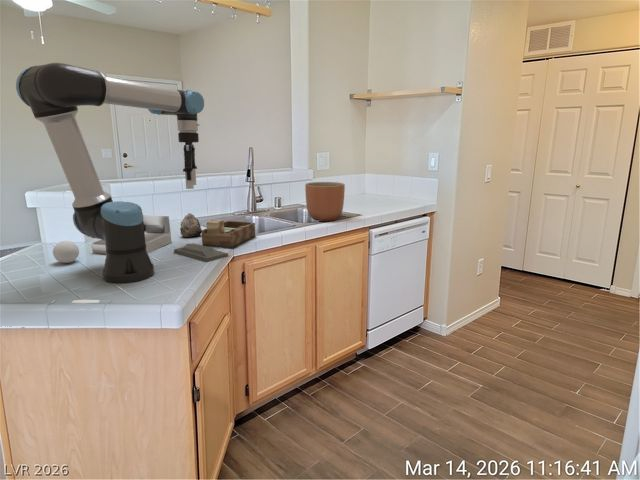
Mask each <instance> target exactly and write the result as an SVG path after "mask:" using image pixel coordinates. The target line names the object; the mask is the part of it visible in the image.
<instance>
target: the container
mask: <svg viewBox="0 0 640 480" xmlns="http://www.w3.org/2000/svg"><path fill="white" fill-rule="evenodd" d="M143 217H144V219H143V222H144V232H145V242H146V251H147V253H148V254H149V253H151V252H153V251H156V250H158V249H160V248H162V247H164V246H166V245H169V244H171V243H172V233H171V232H172V231H171V226H170V225H171V224H170V216H168V215H152V214H151V215H149V214H143ZM91 250H92V255H93V254H94V255H104V256H106V255H107V253H106V246H105V240H101V239H99V240H97V241H95V242H92V243H91Z"/></svg>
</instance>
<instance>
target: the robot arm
mask: <svg viewBox="0 0 640 480" xmlns="http://www.w3.org/2000/svg"><path fill="white" fill-rule="evenodd" d="M15 81H16V82H15V89H16V93H17V96H18V97H19V98H20V100H21V101H22V102H23V103H24V104H25V105H26V106H28V107H30V111H31V112H32V115H33V116H34V118H35V119H36V120H37V121H39V122H41V123H42V124H43V125H44V128H45V130H46V133H47V135H48V137H49V139H50V142H51V145H52V146H53V149H54V152H55V153H56V154H55V155H56V156H57V159H58V161H59V163H60V166H61V168H62V171H63V173H64V175H65V177H66V178H65V179H66V180H67V183H68V185H69V187H70V190H71V192H72V195H73V197H74V200H73V202H72V204H71V206H72V208H73V211H74V212H73V214H72V221H73V224H74V226H75V228H76V230H78V231H79V232H80V233H81V234H83V235H85V236H86V237H88V238H92V239H99V240H105V246H106V253H107V255H105V256H106V257H105V261H104V268H103V270H102V279H103V280H104V281H105V282H108V283H113V284H126V283H133V282H138V281H141V280H146V279H148V278H150V277H152V276H153V275H154V274H155V266H154V264H153V263H152V261H151V258H150V255H149V253H147V251H146V242H145V232H144V222H143V219H144V217H143V215H144V214H143V209H142V207H141V205H139V204H137V203H134V202H132V201H114V200H113V199H112V198H113V197H112V195H111V193H108V192H107V191H105V190H104V189H103V187H102V184H101V180H100V178H99V176H98V173H97V171H96V170H97V169H96V167H95V166H94V162H93V160H92V157H91V154H90V152H89V150H88V146H87V145H86V142H85V139H84V137H83V134H82V131H81V129H80V126H79V124H78V121H77V118H76V115H77V114H78V112H79V109H78V107H79V106H91V107H92V106H93V107H101V106H103V105H104V104H107V105H114V106H122V107H129V108H130V107H131V108H140V109H147V110H148V112H150V114H153V115H158V116H161V115H162V116H163V115H164V116H176V121H177V131H178V134H177V135H178V143H184V144H183V156H184V157H183V159H184V164H183V165H184V168H182V171H183V173H185V174H184V175H185V176H184V177H185V188H186V190H187V189H188V190H189V189H190V190H191V189H192V190H193V189H194V187H195V186H196V185H197V176H196V175H197V173H196V170H198V166H197V165H196V158H195V156H196V153H195V151H196V148H195V145H194V144H193V143H199V141H200V138H199V133H198V131H199V126H200V123H198V114H200V113H202V111H203V110H204V107H205V99H204V96H203V94H202V93H200V92H199V91H197V90H191V89H176V88H173V87H172V88H171V87H166V86H162V85H161V86H160V85H154V84H150V83H143V82H137V81H134V80H127V79H121V78H116V77H110V76H106V75H104V74H103V72H101V71H98V70H93V69H88V68H85V67H81V66H76V65H72V64H68V63H63V62H51V63H47V64H46V63H45V64H39V65H34V66H30V67H27V68H25V69H24V70H22V71H21V72H20V73H19V74H18V76H17V78H16V80H15Z"/></svg>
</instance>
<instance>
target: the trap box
mask: <svg viewBox="0 0 640 480" xmlns="http://www.w3.org/2000/svg"><path fill="white" fill-rule="evenodd" d="M254 237H255V238H256V222H250V221H236V220H235V221H234V220H225V221H224V232H223V233H221V234H219V235H215V234H207V228H204V229H202V230H201V243H202V244H201V245H202V246H206V247H210V248H220V247H221V248H223V249H235V248H237V247H239V246H241V245H243V244H244V243H247V242H248V241H250V240H253V239H255V238H254ZM221 248H220V249H221Z"/></svg>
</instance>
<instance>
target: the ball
mask: <svg viewBox="0 0 640 480" xmlns="http://www.w3.org/2000/svg"><path fill="white" fill-rule="evenodd" d="M52 255H53V257H54V259H55V260H56V261H57V262H58V263H59V262H60V263H61V264H70V263H72V262H74V261H76V260H77V259H78V257H79V255H80V249H79V246H78V245H77V244H76V243H75V242H73V241H71V240H62V241H59V242H58V243H56V244H55V245H54V246H53V249H52Z"/></svg>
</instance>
